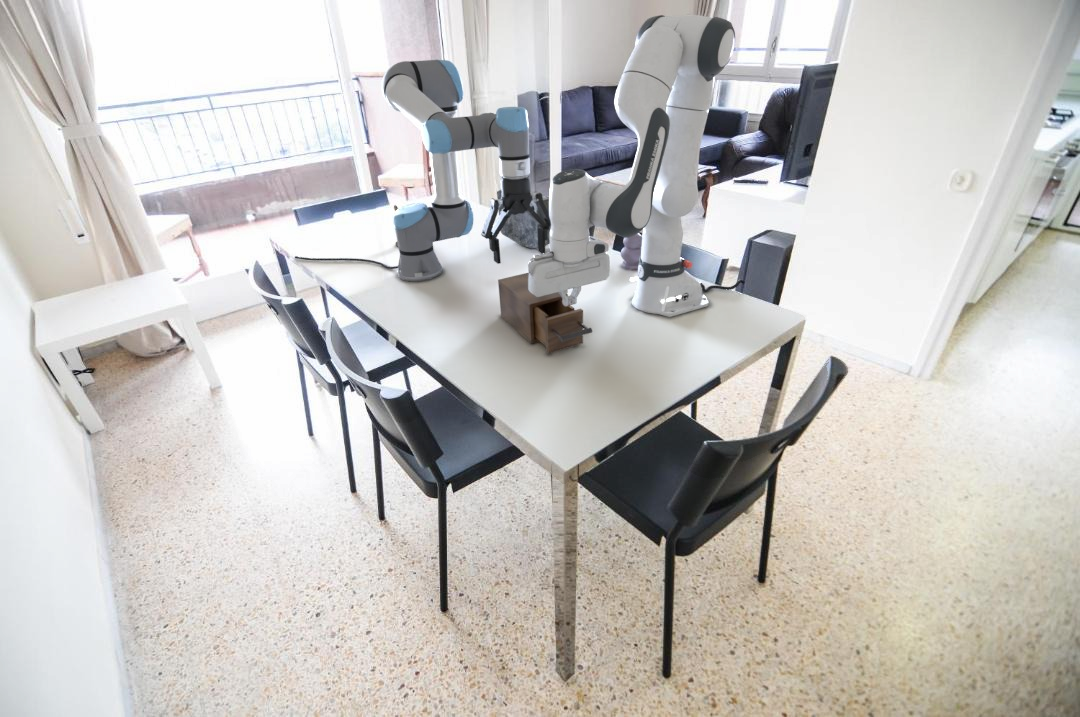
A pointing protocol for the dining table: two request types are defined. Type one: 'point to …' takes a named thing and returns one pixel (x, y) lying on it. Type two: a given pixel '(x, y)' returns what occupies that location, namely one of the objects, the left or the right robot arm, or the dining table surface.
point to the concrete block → (524, 225)
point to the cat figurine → (631, 251)
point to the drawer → (558, 326)
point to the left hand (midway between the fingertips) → (520, 257)
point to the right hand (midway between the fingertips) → (569, 304)
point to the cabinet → (521, 304)
